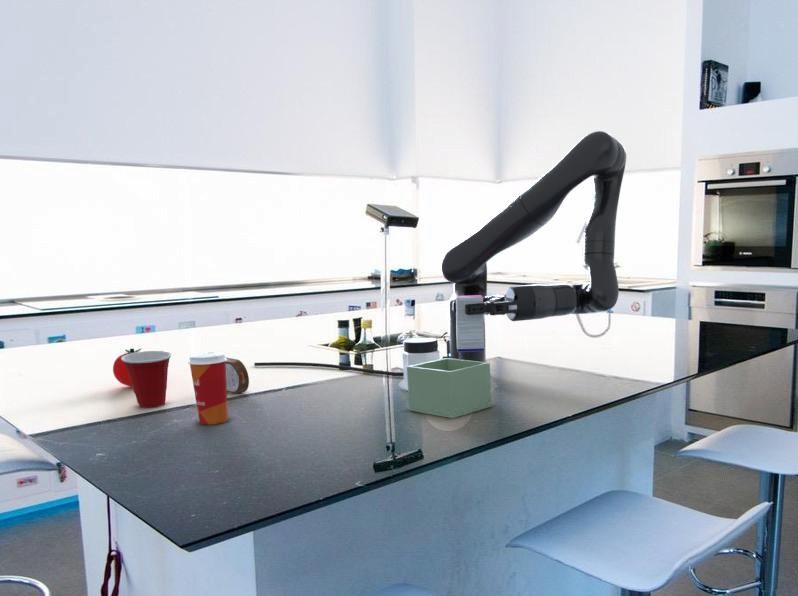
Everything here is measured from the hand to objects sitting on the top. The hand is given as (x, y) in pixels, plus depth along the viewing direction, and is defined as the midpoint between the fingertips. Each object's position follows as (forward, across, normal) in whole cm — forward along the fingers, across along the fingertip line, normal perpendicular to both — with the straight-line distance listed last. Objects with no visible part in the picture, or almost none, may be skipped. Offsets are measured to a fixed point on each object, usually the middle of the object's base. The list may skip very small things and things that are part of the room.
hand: (459, 308), depth 159 cm
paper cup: (+51, -12, +21) cm, 57 cm away
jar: (+3, -21, +21) cm, 30 cm away
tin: (+46, -43, +21) cm, 66 cm away
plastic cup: (+64, -36, +21) cm, 76 cm away
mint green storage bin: (+4, +1, +21) cm, 21 cm away
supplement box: (-2, 0, +9) cm, 9 cm away
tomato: (+68, -64, +21) cm, 96 cm away
